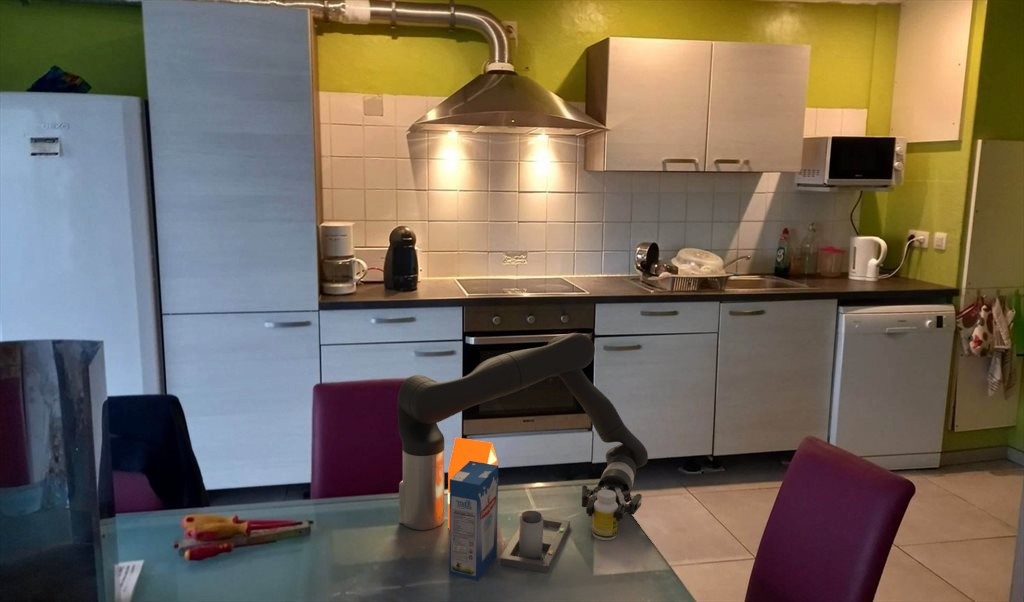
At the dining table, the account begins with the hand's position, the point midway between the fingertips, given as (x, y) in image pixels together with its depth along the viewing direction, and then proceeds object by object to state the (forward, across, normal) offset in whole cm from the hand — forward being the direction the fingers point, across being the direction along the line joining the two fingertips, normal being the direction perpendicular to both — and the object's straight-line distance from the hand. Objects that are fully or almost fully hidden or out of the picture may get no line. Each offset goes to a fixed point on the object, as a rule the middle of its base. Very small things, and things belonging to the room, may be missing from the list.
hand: (604, 514), depth 161 cm
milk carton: (+18, -23, +6) cm, 30 cm away
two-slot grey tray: (+6, -13, +6) cm, 16 cm away
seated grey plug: (+11, -13, +6) cm, 18 cm away
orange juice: (+2, -29, +6) cm, 30 cm away
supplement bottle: (-3, 0, +6) cm, 7 cm away
